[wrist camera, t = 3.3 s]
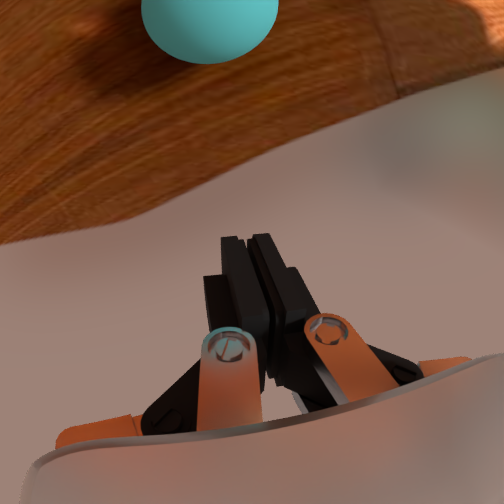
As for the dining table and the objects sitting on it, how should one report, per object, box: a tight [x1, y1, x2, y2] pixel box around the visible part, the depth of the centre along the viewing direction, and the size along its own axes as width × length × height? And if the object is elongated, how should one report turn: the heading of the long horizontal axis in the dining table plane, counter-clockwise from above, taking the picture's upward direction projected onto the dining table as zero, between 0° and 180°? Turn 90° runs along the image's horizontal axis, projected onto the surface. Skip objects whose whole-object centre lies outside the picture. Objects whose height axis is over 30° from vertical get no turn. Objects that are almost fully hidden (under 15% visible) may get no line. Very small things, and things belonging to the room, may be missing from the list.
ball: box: [141, 0, 278, 64], centre depth 11 cm, size 6×6×6 cm
